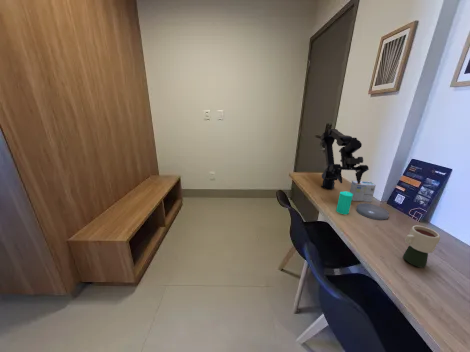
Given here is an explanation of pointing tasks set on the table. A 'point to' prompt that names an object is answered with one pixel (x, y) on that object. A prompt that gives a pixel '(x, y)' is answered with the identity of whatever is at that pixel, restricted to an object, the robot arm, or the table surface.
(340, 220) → the table surface
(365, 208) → the charcoal plinth
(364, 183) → the light bulb box
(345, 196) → the candle
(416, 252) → the character mug
